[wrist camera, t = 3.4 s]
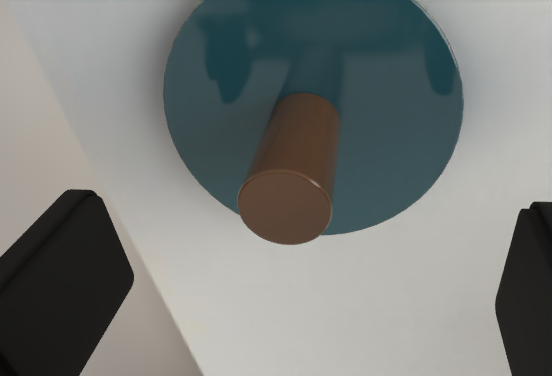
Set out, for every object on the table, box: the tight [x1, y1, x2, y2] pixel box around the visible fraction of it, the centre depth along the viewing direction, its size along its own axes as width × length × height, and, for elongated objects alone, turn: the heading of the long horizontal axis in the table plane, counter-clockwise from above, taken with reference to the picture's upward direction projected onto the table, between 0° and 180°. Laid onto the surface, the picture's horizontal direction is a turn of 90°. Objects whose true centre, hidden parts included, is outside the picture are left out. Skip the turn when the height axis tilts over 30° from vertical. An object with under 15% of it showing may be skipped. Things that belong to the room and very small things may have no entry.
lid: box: [163, 0, 464, 245], centre depth 13 cm, size 10×10×6 cm
